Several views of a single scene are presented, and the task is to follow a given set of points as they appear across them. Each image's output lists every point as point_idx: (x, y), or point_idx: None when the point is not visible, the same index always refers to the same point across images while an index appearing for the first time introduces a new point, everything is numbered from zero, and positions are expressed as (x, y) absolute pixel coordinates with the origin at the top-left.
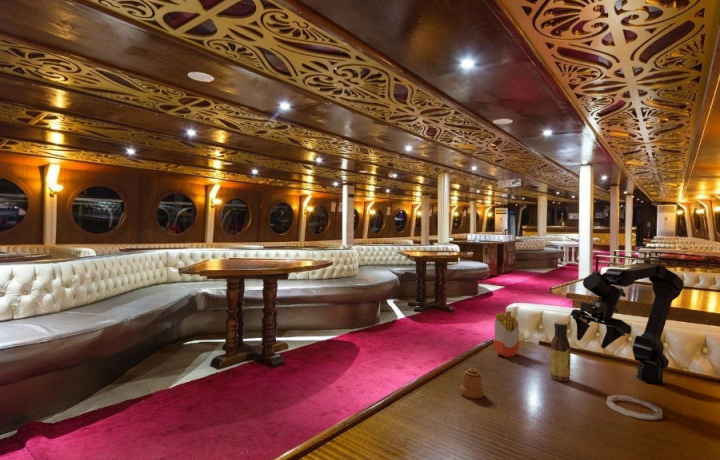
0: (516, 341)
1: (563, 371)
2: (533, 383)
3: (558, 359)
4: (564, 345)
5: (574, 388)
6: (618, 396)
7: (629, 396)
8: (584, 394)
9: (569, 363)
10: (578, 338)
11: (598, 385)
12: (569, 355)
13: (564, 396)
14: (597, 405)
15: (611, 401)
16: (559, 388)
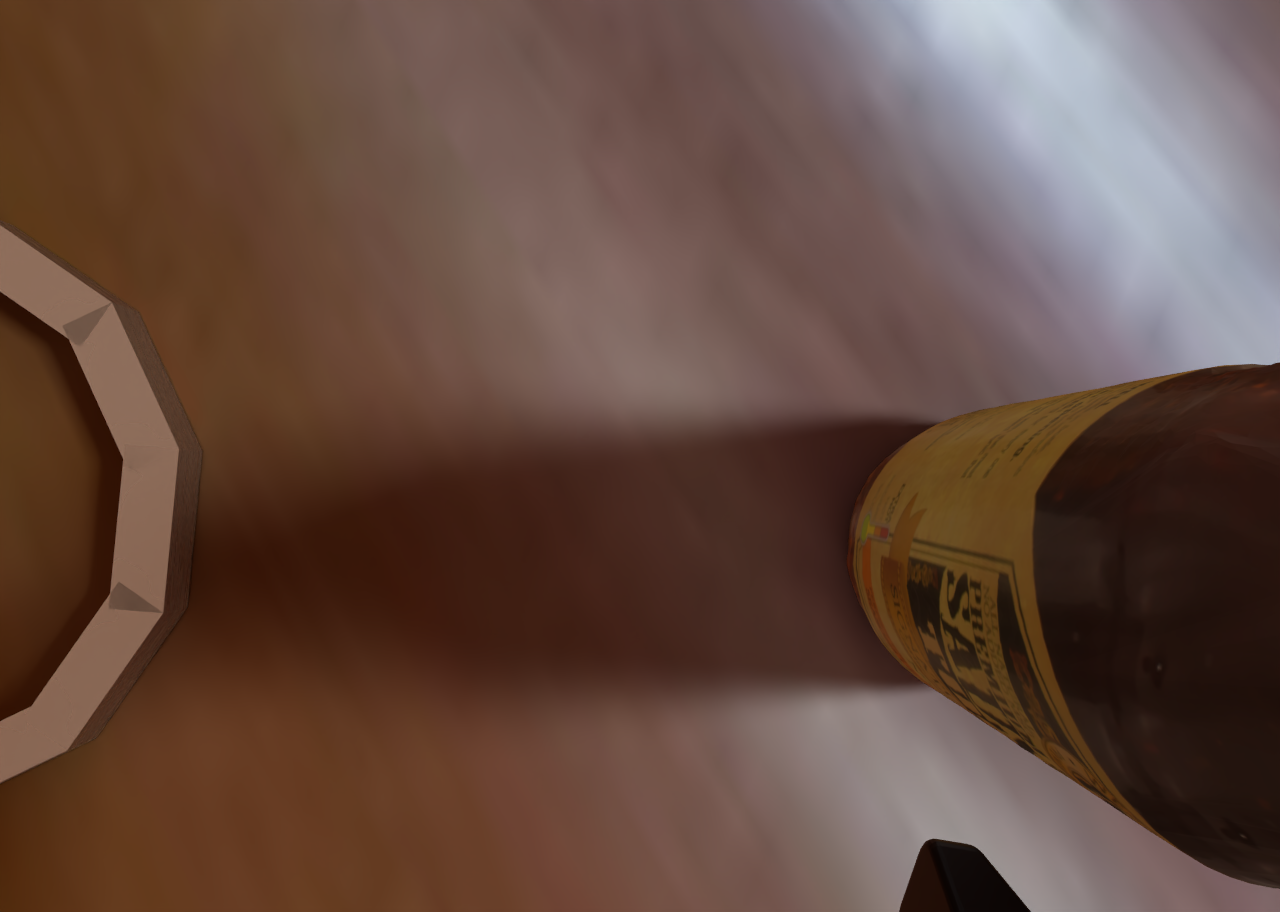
0: None
1: (905, 468)
2: (1015, 16)
3: (1053, 401)
4: (1140, 497)
5: (647, 418)
6: (110, 600)
7: (40, 758)
8: (455, 347)
9: (918, 615)
10: (931, 882)
11: (569, 883)
12: (976, 638)
13: (529, 21)
14: (171, 165)
15: (60, 326)
16: (736, 209)
